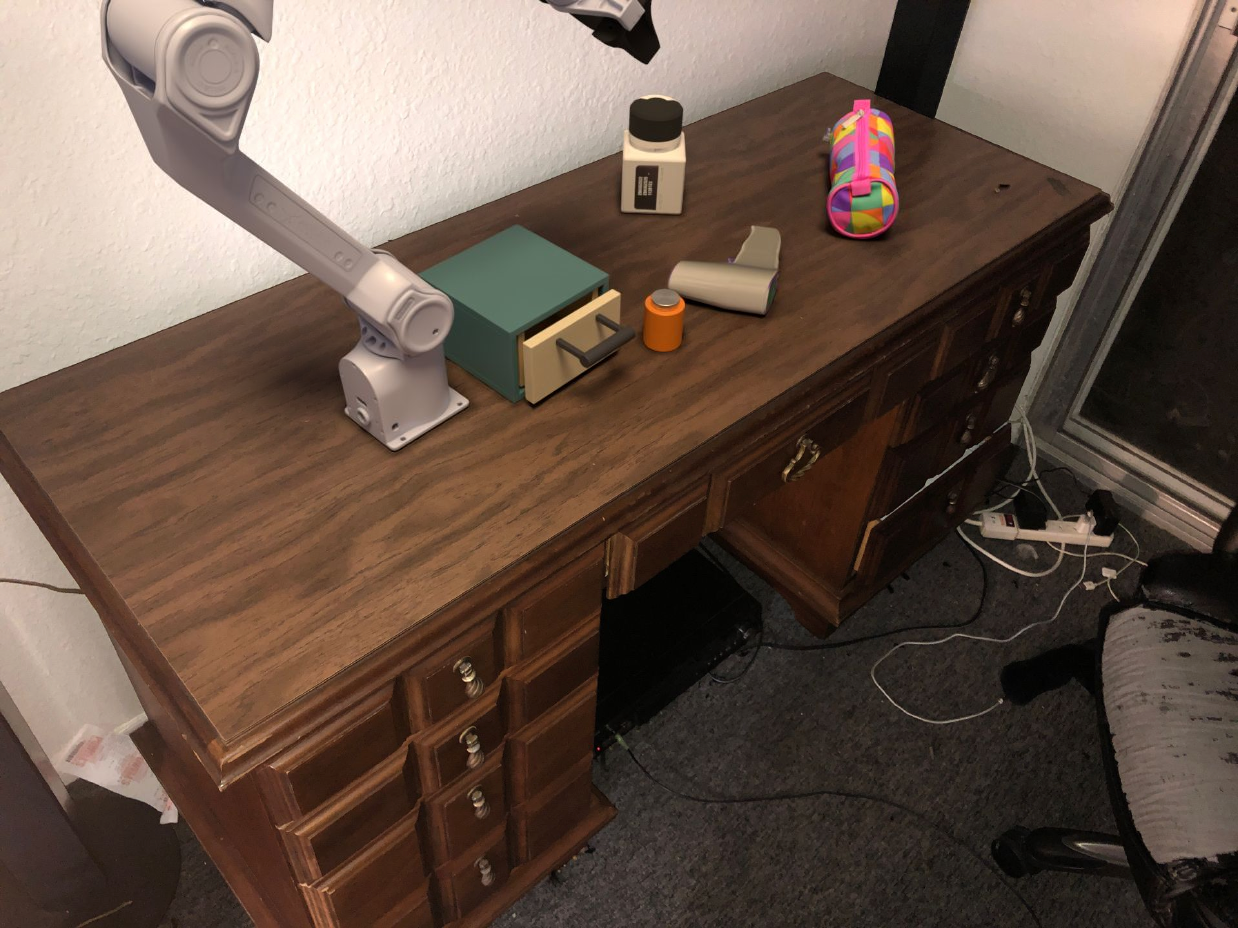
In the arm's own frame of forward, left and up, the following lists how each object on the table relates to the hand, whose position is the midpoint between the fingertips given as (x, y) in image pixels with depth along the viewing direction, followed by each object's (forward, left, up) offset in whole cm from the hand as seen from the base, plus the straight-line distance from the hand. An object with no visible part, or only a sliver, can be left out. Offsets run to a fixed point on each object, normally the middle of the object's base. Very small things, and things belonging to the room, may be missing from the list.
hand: (625, 37), depth 87 cm
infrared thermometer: (+13, -6, -29) cm, 33 cm away
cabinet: (-13, +2, -29) cm, 32 cm away
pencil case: (+39, -7, -29) cm, 49 cm away
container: (+20, +12, -29) cm, 37 cm away
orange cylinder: (-2, -9, -29) cm, 30 cm away
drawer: (-13, -3, -28) cm, 31 cm away
